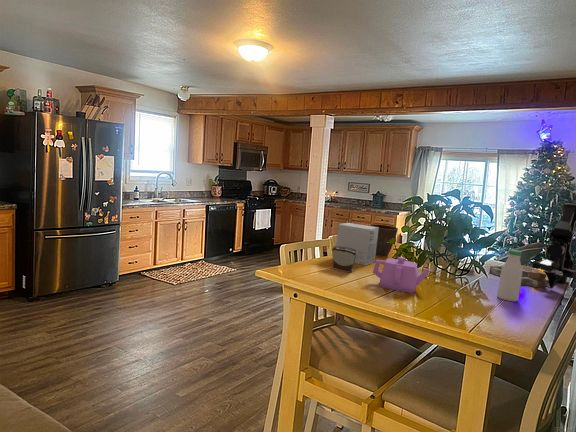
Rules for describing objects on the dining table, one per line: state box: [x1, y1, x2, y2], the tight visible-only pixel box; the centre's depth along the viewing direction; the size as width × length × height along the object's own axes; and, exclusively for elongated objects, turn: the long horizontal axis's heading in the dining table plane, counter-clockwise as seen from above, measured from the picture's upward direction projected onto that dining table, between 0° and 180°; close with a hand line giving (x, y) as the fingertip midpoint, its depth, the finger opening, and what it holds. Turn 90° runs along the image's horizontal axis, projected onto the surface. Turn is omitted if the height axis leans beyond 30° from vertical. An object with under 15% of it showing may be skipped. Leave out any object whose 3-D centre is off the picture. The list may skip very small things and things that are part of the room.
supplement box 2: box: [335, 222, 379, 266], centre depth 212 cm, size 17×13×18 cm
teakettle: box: [372, 256, 431, 294], centre depth 170 cm, size 17×17×12 cm
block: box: [528, 270, 547, 288], centre depth 199 cm, size 5×5×6 cm
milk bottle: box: [496, 249, 523, 302], centre depth 169 cm, size 8×8×20 cm
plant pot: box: [370, 224, 399, 257], centre depth 233 cm, size 15×15×16 cm
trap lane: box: [489, 265, 550, 288], centre depth 207 cm, size 25×21×4 cm
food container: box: [331, 245, 358, 274], centre depth 191 cm, size 12×6×10 cm, turn 58°
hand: (551, 287), depth 193 cm, fingers closed
